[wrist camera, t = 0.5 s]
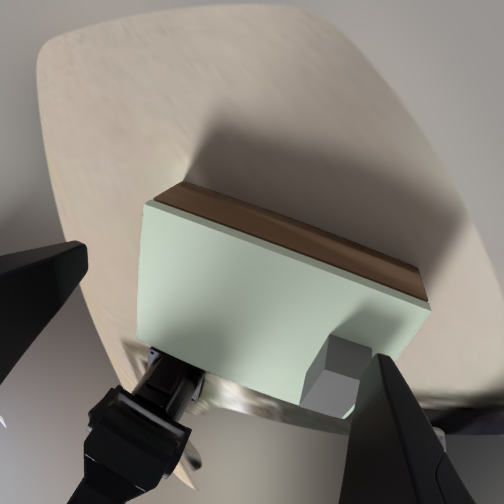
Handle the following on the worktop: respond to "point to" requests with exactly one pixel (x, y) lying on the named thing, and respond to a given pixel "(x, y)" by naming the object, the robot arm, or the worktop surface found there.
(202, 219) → the lid
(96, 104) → the worktop surface
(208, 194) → the tea box
